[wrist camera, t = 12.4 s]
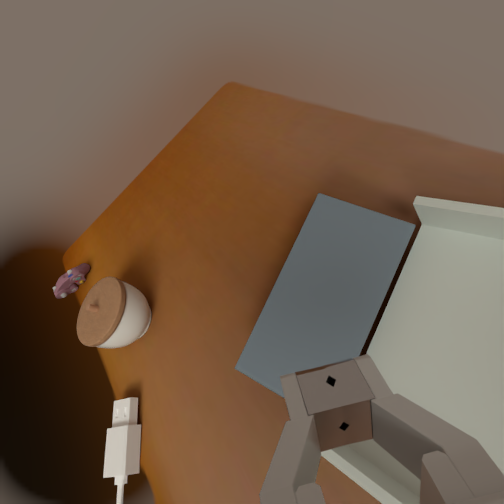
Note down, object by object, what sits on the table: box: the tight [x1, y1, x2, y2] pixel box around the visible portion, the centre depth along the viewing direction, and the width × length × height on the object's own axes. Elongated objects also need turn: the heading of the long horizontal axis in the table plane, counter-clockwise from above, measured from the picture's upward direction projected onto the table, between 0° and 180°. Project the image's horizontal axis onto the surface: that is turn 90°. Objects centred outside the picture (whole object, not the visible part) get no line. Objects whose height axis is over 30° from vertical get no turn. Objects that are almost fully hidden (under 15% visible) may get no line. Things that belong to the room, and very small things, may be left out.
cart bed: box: [321, 196, 504, 504], centre depth 31 cm, size 18×28×7 cm, turn 148°
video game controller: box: [53, 263, 90, 298], centre depth 84 cm, size 10×5×7 cm, turn 122°
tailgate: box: [235, 193, 416, 398], centre depth 40 cm, size 2×24×12 cm
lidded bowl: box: [77, 277, 151, 348], centre depth 63 cm, size 13×13×11 cm
